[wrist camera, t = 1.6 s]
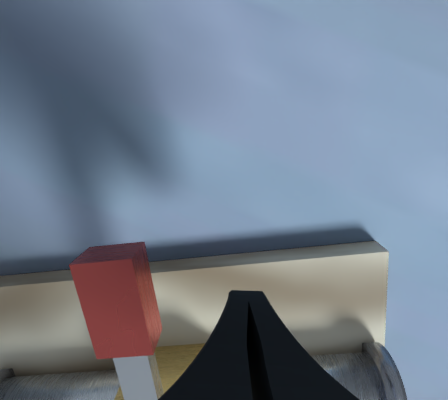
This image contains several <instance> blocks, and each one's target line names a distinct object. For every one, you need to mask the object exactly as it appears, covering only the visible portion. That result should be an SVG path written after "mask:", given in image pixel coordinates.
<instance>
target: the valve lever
mask: <svg viewBox="0 0 448 400" xmlns="http://www.w3.org/2000/svg"><path fill="white" fill-rule="evenodd" d="M69 267H70V270H71V274H72V277H73V281H74V284H75V287H76V291H77V294H78V298H79V301H80V304H81V308H82V311H83V315H84V318H85V321H86V325H87V328H88V332H89V335H90V338H91V342H92V345H93V349H94V352H95V355H96V359H108V358H113V361H114V365H115V368H116V372H117V376H118V379H119V383H120V386H121V390H122V394H123V397H124V400H158V399H159V398H160V397H161V396H162V395H163V394H164V391H163V387H162V383H161V378H160V374H159V369H158V365H157V360H156V356H155V349H156V346H157V343H158V340H159V337H160V334H161V331H162V324H161V319H160V314H159V310H158V305H157V300H156V295H155V290H154V286H153V281H152V276H151V271H150V267H149V262H148V257H147V252H146V247H145V243H144V242H137V243H127V244H117V245H107V246H96V247H89V248H88V249H87V250H86V251H84V252H83V253H82V254H81V255H80V256H79V257H77V258H76V259H75V260H74V261H73V262H72V263H70V264H69Z"/></svg>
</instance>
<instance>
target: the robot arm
mask: <svg viewBox="0 0 448 400" xmlns="http://www.w3.org/2000/svg"><path fill="white" fill-rule="evenodd" d="M158 400H360V399H358V398H357V397H356V396H354V395H353V394H352V393H351V392H350V391H348V390H347V389H346V388H345V387H344V386H342V385H341V384H340V383H339V382H338V381H337V380H335V379H334V378H333V377H332V376H331V375H330V374H329V373H327V372H326V371H325V370H324V369H323V368H322V367H321V366H320V365H319V364H318V363H317V362H316V361H315V360H314V359H313V358H312V357H311V356H310V355H309V353H308V352H307V351H306V350H305V349H304V348H303V347H302V346H301V345H300V343H299V342H298V341H297V340H296V339H295V337H294V336H293V335H292V334H291V332H290V331H289V330H288V328H287V327H286V326H285V324H284V323H283V322H282V320H281V319H280V318H279V316H278V315H277V313H276V312H275V310H274V309H273V307H272V305H271V304H270V302H269V301H268V299H267V297H266V295H265V294H264V292H263V291H245V290H231V291H230V292H229V294H228V299H227V302H226V305H225V307H224V310H223V312H222V314H221V316H220V318H219V320H218V323H217V324H216V326H215V328H214V330H213V331H212V333H211V335H210V337H209V338H208V340H207V342H206V343H205V345H204V346H203V348H202V349H201V351H200V352H199V353H198V355H197V356H196V357H195V359H194V360H193V361H192V363H191V364H190V365H189V366H188V368H187V369H186V370H185V371H184V373H183V374H182V375H181V376H180V377H179V378H178V379H177V381H176V382H175V383H174V384H173V385H172V386H171V387H170V388H169V389H168V390H167V391H166V392H165V393H164V394H163V395H162V396H161V397H160V398H159V399H158Z"/></svg>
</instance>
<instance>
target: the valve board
mask: <svg viewBox="0 0 448 400" xmlns="http://www.w3.org/2000/svg"><path fill="white" fill-rule="evenodd" d="M388 256H389V251H387V250H386V249H385V248H384V247H383V246H381V245H380V244H379V243H378V242H376V241H367V242H357V243H346V244H335V245H325V246H314V247H303V248H293V249H282V250H271V251H261V252H250V253H239V254H229V255H218V256H207V257H197V258H186V259H175V260H165V261H154V262H149V267H150V271H151V276H152V281H153V286H154V290H155V295H156V300H157V305H158V310H159V314H160V319H161V324H162V331H161V334H160V337H159V340H158V343H157V346H156V347H160V346H173V345H187V344H200V343H206V342H207V340H208V338H209V337H210V335H211V333H212V331H213V330H214V328H215V326H216V324H217V323H218V320H219V318H220V316H221V314H222V312H223V310H224V307H225V305H226V302H227V299H228V294H229V292H230V291H231V290H245V291H263V292H264V294H265V295H266V297H267V299H268V301H269V302H270V304H271V305H272V307H273V309H274V310H275V312H276V313H277V315H278V316H279V318H280V319H281V320H282V322H283V323H284V324H285V326H286V327H287V328H288V330H289V331H290V332H291V334H292V335H293V336H294V337H295V339H296V340H297V341H298V342H299V343H300V345H301V346H302V347H303V348H304V349H305V350H306V351H307V352H308V353H309V355H310V356H315V355H329V354H343V353H357V352H362V343H367V342H379V343H380V344H382V345H383V346H384V347H385V325H386V302H387V279H388ZM9 368H13V371H14V374H15V376H16V377H18V376H32V375H46V374H60V373H74V372H88V371H103V370H116V368H115V365H114V361H113V358H108V359H96V355H95V352H94V349H93V345H92V342H91V338H90V335H89V332H88V328H87V325H86V321H85V318H84V315H83V311H82V308H81V304H80V301H79V298H78V294H77V291H76V287H75V284H74V281H73V277H72V274H71V270H70V269H69V270H58V271H48V272H37V273H26V274H16V275H5V276H0V369H9Z"/></svg>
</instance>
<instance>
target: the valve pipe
mask: <svg viewBox="0 0 448 400" xmlns="http://www.w3.org/2000/svg"><path fill="white" fill-rule="evenodd" d="M204 345H205V343H200V344H187V345H173V346H160V347H156V349H155V356H156V360H157V365H158V369H159V374H160V378H161V383H162V387H163V391H164V393H165V392H166V391H167V390H168V389H169V388H170V387H171V386H172V385H173V384H174V383H175V382H176V381H177V379H178V378H179V377H180V376H181V375H182V374H183V373H184V371H185V370H186V369H187V368H188V366H189V365H190V364H191V363H192V361H193V360H194V359H195V357H196V356H197V355H198V353H199V352H200V351H201V349H202V348H203V346H204ZM311 357H312V358H313V359H314V360H315V361H316V362H317V363H318V364H319V365H320V366H321V367H322V368H323V369H324V370H325V371H326V372H327V373H329V374H330V375H331V376H332V377H333V378H334V379H335V380H337V381H338V382H339V383H340V384H341V385H342V386H344V387H345V388H346V389H347V390H348V391H350V392H351V393H352V394H353V395H354V396H356V397H357V398H358V399H360V400H407V397H406V392H405V388H404V385H403V382H402V379H401V376H400V374H399V371H398V369H397V367H396V365H395V363H394V361H393V359H392V357H391V355H390V354H389V352H388V351H387V350H386V348H385V347H384V346H383V345H382V344H380V343H379V342H367V343H362V352H357V353H343V354H329V355H315V356H311ZM0 400H124V397H123V394H122V390H121V386H120V383H119V379H118V376H117V372H116V370H103V371H88V372H74V373H60V374H46V375H32V376H18V377H16V376H15V374H14V371H13V368H9V369H0Z"/></svg>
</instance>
